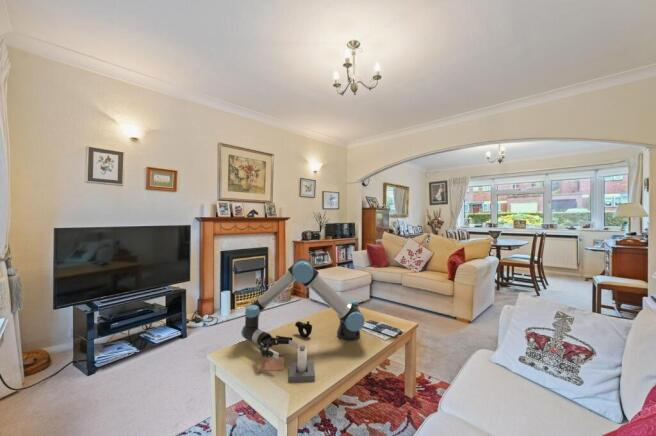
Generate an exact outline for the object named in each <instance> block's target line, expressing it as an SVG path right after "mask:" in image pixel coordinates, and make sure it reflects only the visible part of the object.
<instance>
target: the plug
mask: <svg viewBox="0 0 656 436" xmlns="http://www.w3.org/2000/svg"><path fill="white" fill-rule="evenodd" d="M307 357H308V349H307V348H306V346H305V345H304V344H303V345H301V344H300V346H299V347H298V349H297V362H296V363H297V372H306V364H307V362H308V361H307V360H308V359H307Z"/></svg>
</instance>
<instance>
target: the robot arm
mask: <svg viewBox="0 0 656 436" xmlns="http://www.w3.org/2000/svg"><path fill="white" fill-rule="evenodd" d="M295 282H298V283H299V284H301V285H302V286H304V287H305V288H309V289H310V290H312V292H313V293H315V294H316V295H317V296H318V297H319V298H320V299H321V300H322V301H324V302H325V304H327V305H328V307H330V309H332V310H333V311H334V312H335V313H336V314H337V319H339V326H338V328H337V331H336V337H337V338H338V339H340V340H343V341H347V342H348V341H352V342H353V341H357V340H359V339H361V331H360V330H361V329H362V328H363V327H364V325H365V318H364V314H363V313H362V312H361V310H360V309H359V301H358V300H356V299H344V298H343V297H342V296H341V295H340V294H339V293H337V292H336V291H335V290H334V289H333V288H332V287H331V286H330V285H329V284H328V283H327V282H326V281H325V279H323V278H322V277H321V276H320V272H319V271H318V269H316V268H315V267H314V266H313V265H312V263H311V262H310V260H308V259H307V258H303V257H302V258H298V259H296V260H295V261H294V262H293V264H292V265H290V266H289V268H287V271H286V273H284V274H283V275H282V276H281V277H280V278H279V279H277V281H275V282H274V283H273V284H272V285H271V286H270V287H269V288H268V289H266V291H264V293H262V294H261V295H260V296H259V297H257V299H256V300H254V301H253V302H251V303H250V305H248V306H246V307H245V312H244V315H245V317H244V319H245V321H244V323H245V324H244V326H243V327H242V329H241V331H240V333H241V336H242V337H243V339H244V340H245V339H246V340H247V341H249V342H252V343H253V344H256V345H257V349H258V350H259V351H260V353H261V356H262V357H274V358H276V359H279V357H280V356H279V355H280V353H279V352H277V351H275V350H273V349H271V347H273V346H279V345H288V346H289V347H291V348H294V349H296V350H298V349H299V343H298V342H295V341H293V337H291V336H289V337H288V336H284V335H283V336H282V335H277V334H276V335H275V336H274V337H273V336H272V335H271V333H269V332H266V331H264V330H262V329H260V328H259V319H260V315H261V312H263V311H264V310H265V309H266V308H267V307H268V306H269V305H270V304H272V302H274V301H275V300H277V298H278V297H279V296H280V295H281V294H282V293H283V292H285V291H286V290H287V289H288V288H289V287H290V286H292V284H293V283H295ZM265 348H266V349H265Z"/></svg>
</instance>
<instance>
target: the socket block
mask: <svg viewBox="0 0 656 436" xmlns="http://www.w3.org/2000/svg"><path fill="white" fill-rule="evenodd" d="M314 364H315V363H314V361H307V364H306V372H297V362H289V370H288V371H289V374H288V377H289V378H288V383H298V382H299V383H300V382H303V383H304V382H315V381H316V375H315V365H314Z"/></svg>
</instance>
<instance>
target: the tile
mask: <svg viewBox="0 0 656 436" xmlns="http://www.w3.org/2000/svg"><path fill="white" fill-rule="evenodd" d="M285 359H286V358H285V356H279V359H276V358H274V357H272V356H268V357H266V356H262V357H261V361H260V363H259V364H260V365H259V369H258V372H259V373H262V372H272V371H273V372H275V371H276V372H277V371H284V369H285Z"/></svg>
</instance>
